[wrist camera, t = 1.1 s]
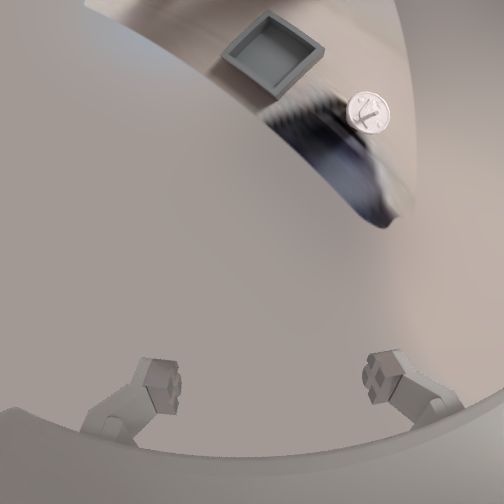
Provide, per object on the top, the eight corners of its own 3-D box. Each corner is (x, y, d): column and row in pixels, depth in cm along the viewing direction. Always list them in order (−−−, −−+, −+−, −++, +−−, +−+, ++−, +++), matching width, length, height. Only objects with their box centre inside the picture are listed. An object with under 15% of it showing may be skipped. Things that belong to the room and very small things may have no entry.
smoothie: (335, 131, 42) (349, 126, 29) (340, 97, 39) (355, 79, 27) (371, 140, 41) (397, 139, 28) (375, 106, 39) (403, 93, 26)
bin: (226, 62, 40) (219, 55, 36) (271, 19, 35) (268, 9, 31) (277, 100, 42) (275, 96, 37) (323, 56, 37) (325, 48, 33)
